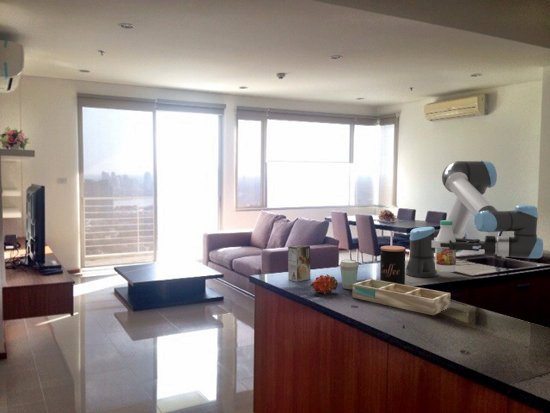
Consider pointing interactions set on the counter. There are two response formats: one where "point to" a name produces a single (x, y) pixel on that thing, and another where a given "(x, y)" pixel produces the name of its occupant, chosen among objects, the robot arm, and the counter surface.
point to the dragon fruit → (324, 284)
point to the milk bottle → (445, 249)
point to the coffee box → (299, 263)
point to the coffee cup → (349, 273)
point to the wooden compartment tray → (402, 296)
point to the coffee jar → (392, 264)
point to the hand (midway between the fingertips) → (433, 242)
